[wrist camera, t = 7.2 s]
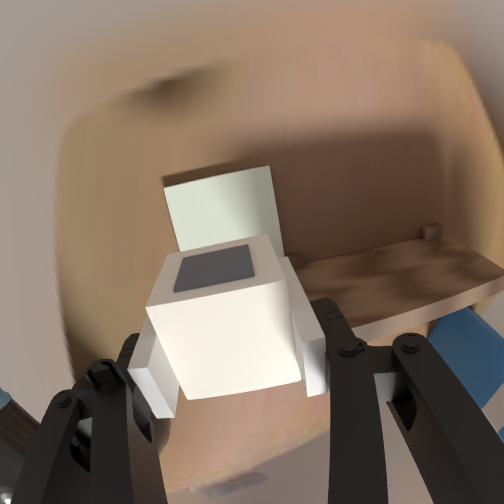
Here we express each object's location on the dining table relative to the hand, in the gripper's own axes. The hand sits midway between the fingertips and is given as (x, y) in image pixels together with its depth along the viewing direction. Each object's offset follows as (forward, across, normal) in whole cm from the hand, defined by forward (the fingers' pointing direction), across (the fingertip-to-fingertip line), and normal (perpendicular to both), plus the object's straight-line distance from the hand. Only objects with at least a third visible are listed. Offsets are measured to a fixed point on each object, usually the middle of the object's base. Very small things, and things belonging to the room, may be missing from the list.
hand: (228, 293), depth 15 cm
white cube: (0, 0, 0) cm, 0 cm away
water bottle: (+13, +27, -21) cm, 36 cm away
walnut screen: (+12, +13, -6) cm, 19 cm away
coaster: (+12, 0, 0) cm, 12 cm away
